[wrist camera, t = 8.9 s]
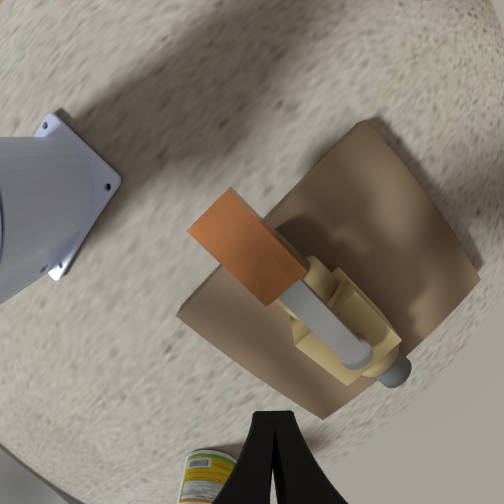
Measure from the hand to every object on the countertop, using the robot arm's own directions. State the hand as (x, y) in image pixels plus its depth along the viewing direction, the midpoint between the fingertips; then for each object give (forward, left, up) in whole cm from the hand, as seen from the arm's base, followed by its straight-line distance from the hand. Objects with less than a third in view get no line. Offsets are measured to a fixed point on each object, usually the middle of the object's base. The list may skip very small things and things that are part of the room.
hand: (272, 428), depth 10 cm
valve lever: (+3, +1, -5) cm, 6 cm away
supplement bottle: (-17, -9, -11) cm, 22 cm away
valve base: (+3, -3, -10) cm, 11 cm away
